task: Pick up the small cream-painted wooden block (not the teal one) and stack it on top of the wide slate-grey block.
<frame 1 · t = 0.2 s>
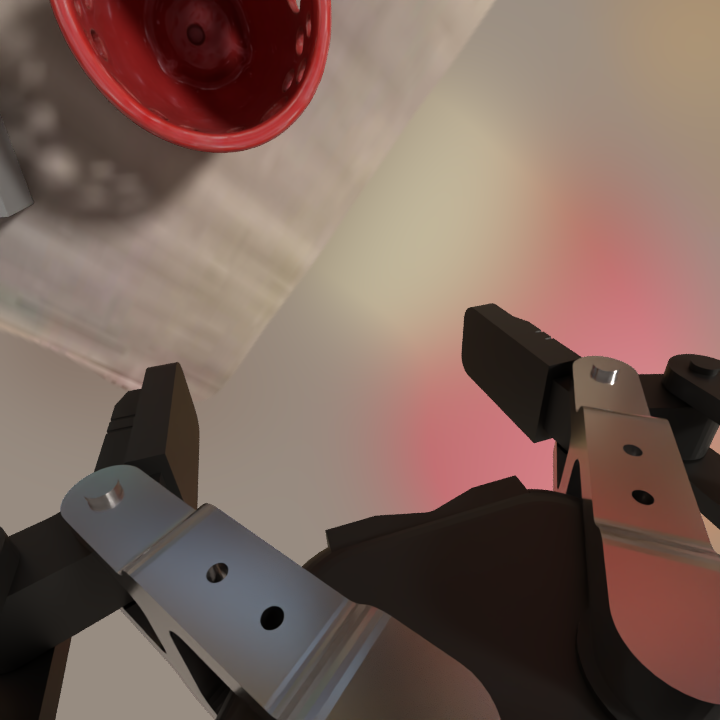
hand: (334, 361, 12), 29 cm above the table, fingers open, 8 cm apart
plant pot: (203, 36, 31), on the table
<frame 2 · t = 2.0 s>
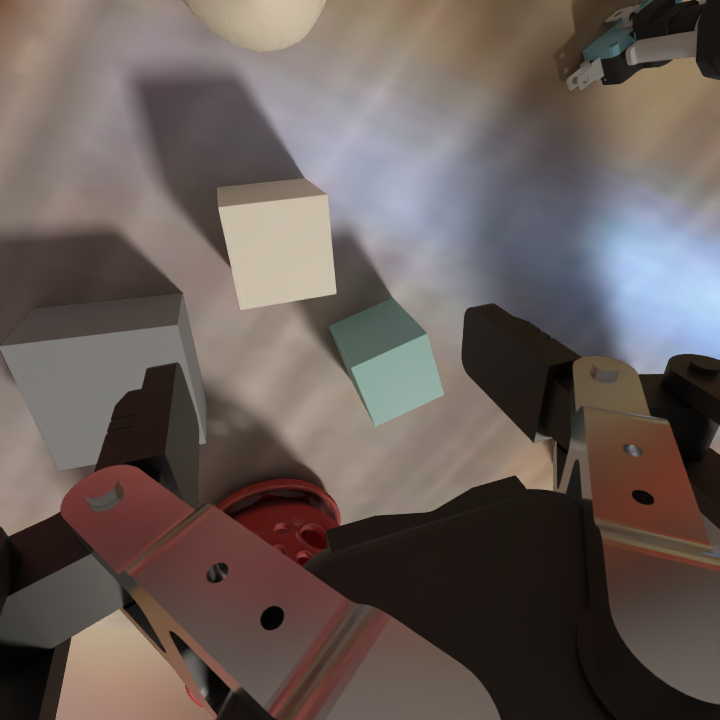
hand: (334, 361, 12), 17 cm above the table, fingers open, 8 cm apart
teal block: (370, 339, 32), on the table
cream block: (268, 226, 26), on the table
slate base block: (129, 357, 28), on the table
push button: (603, 49, 27), on the table
plant pot: (270, 519, 38), on the table
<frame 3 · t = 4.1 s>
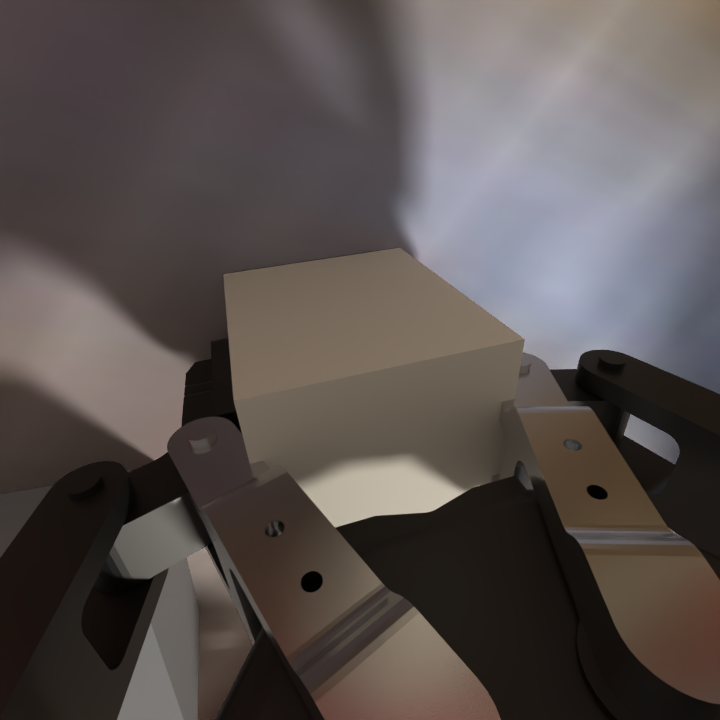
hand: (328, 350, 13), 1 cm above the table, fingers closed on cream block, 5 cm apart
cream block: (324, 339, 13), on the table, touching gripper
slate base block: (61, 570, 15), on the table
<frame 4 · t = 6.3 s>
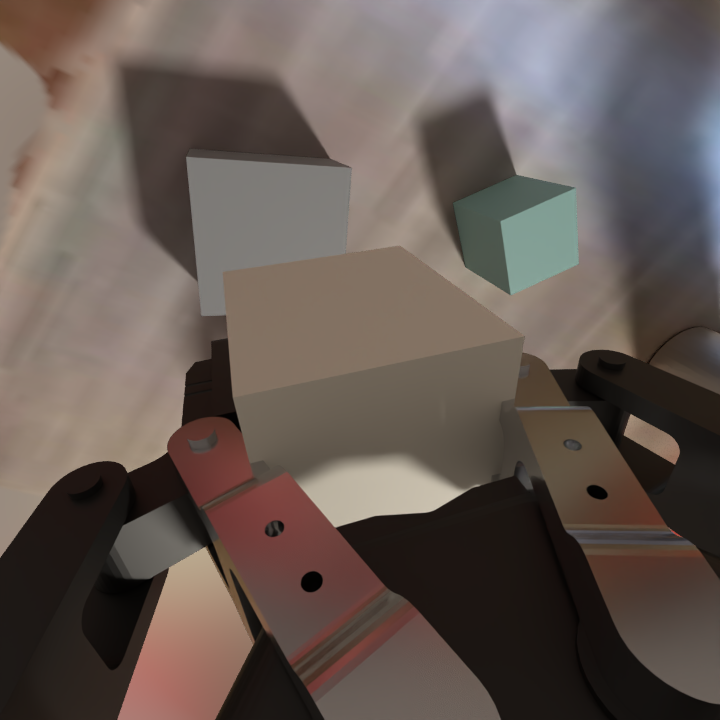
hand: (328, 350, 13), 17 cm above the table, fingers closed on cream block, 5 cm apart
teal block: (489, 222, 32), on the table
cream block: (324, 337, 13), point 17 cm above the table, touching gripper
slate base block: (264, 223, 27), on the table
when the fingers open (7 cm above the table, at t = 8.6 s): cream block drops 1 cm, resting on slate base block.
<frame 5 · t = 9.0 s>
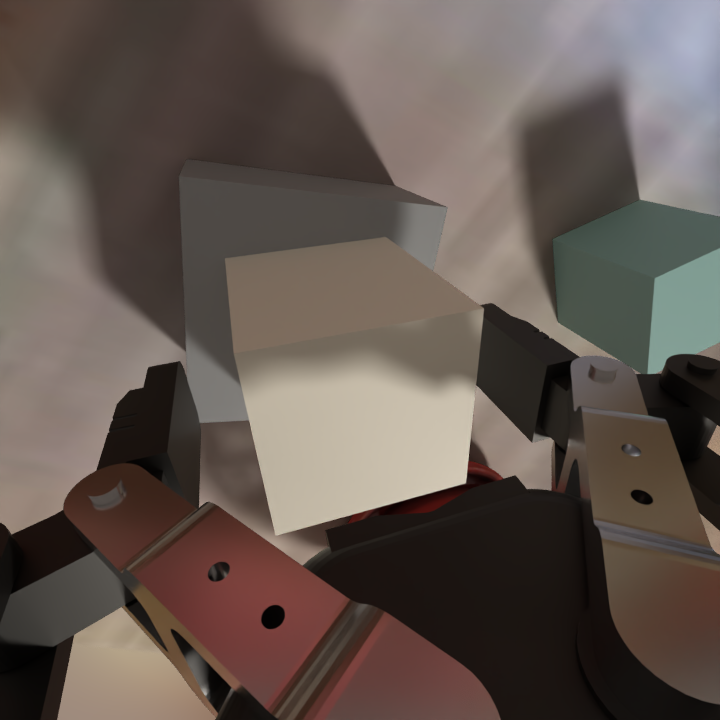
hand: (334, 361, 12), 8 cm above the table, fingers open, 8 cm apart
teal block: (596, 263, 23), on the table
cream block: (316, 320, 15), point 5 cm above the table, touching slate base block
slate base block: (290, 272, 19), on the table, touching cream block
plant pot: (416, 515, 29), on the table
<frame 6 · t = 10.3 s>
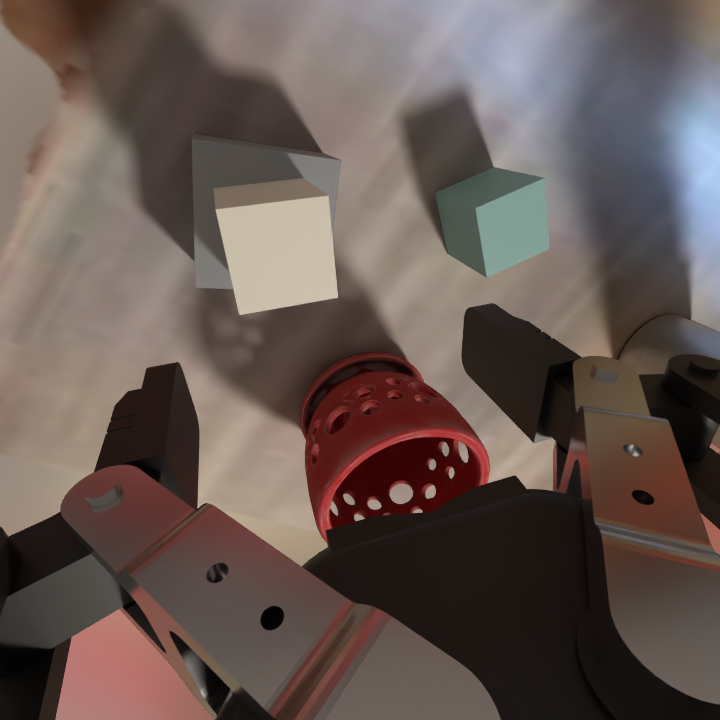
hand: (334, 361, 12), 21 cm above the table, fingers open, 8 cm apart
teal block: (469, 211, 34), on the table
cream block: (267, 228, 25), point 5 cm above the table, touching slate base block
slate base block: (258, 208, 30), on the table, touching cream block
plant pot: (358, 402, 40), on the table
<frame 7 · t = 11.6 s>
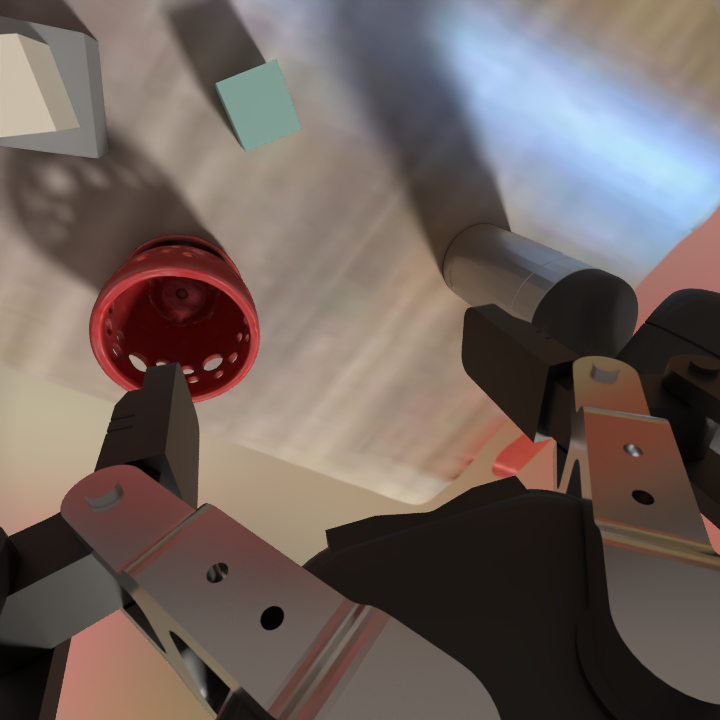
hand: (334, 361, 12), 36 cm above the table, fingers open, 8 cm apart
teal block: (253, 106, 39), on the table
cream block: (26, 91, 31), point 5 cm above the table
slate base block: (47, 90, 35), on the table
plant pot: (185, 290, 46), on the table
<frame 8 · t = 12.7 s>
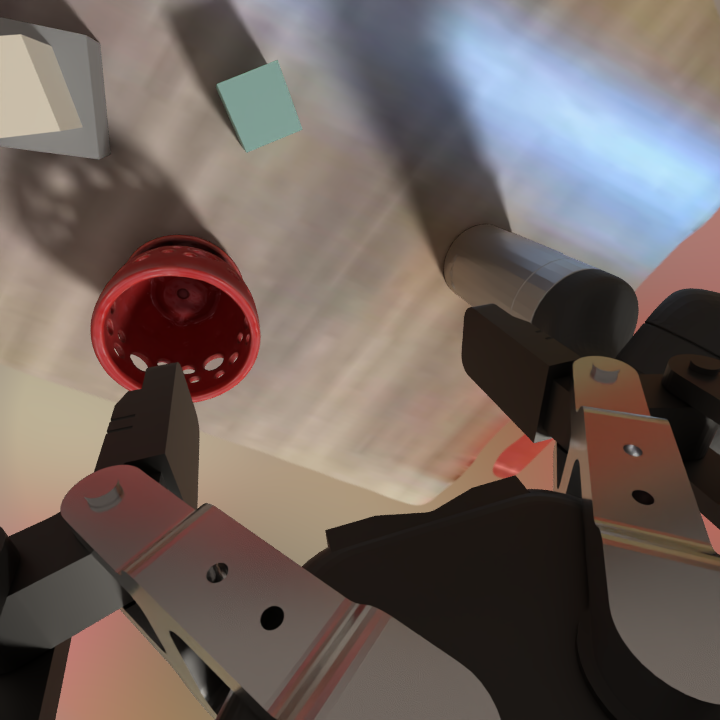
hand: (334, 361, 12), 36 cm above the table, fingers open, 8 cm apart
teal block: (254, 107, 39), on the table
cream block: (29, 92, 31), point 5 cm above the table, touching slate base block
slate base block: (49, 91, 35), on the table, touching cream block
plant pot: (186, 290, 46), on the table
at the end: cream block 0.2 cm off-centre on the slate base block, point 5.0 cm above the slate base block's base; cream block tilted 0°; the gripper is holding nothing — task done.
